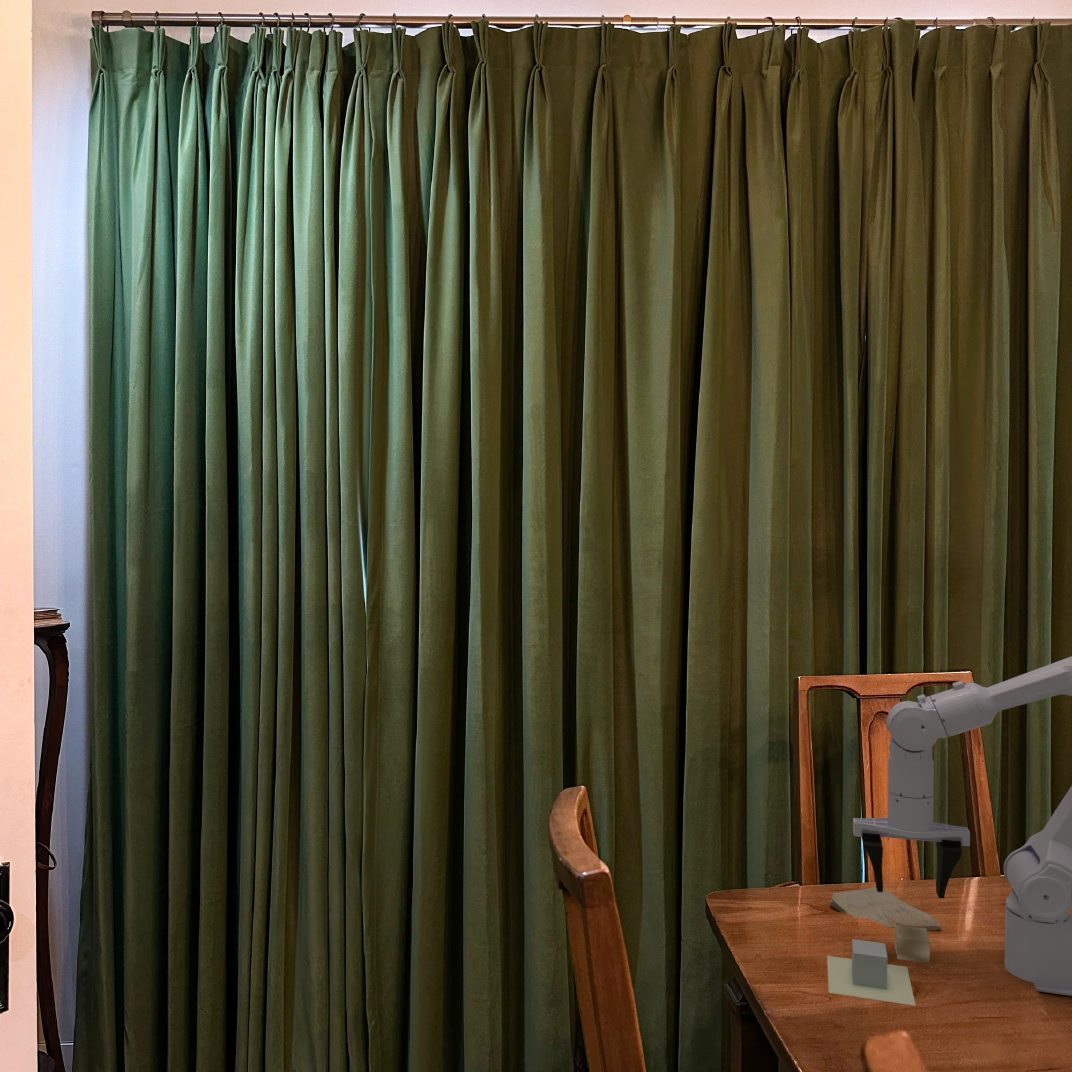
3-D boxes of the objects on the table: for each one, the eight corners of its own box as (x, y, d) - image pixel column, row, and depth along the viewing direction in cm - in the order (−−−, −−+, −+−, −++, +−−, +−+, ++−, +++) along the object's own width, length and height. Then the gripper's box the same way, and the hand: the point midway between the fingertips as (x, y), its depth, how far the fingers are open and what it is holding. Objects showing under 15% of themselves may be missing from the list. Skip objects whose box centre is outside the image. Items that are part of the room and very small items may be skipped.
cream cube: (925, 957, 124) (926, 928, 124) (929, 971, 121) (930, 941, 121) (894, 953, 126) (894, 924, 126) (897, 967, 122) (897, 937, 122)
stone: (945, 941, 130) (945, 923, 130) (882, 949, 127) (882, 931, 127) (878, 898, 145) (879, 882, 145) (820, 905, 142) (821, 889, 142)
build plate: (906, 974, 120) (906, 966, 120) (915, 1013, 110) (915, 1005, 110) (826, 963, 122) (827, 955, 122) (828, 1000, 113) (828, 992, 113)
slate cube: (884, 974, 118) (884, 943, 117) (887, 989, 114) (887, 957, 114) (851, 969, 119) (852, 939, 119) (853, 984, 115) (853, 953, 115)
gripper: (963, 788, 125) (961, 886, 125) (851, 780, 129) (850, 875, 129) (973, 803, 118) (972, 907, 118) (855, 794, 122) (854, 895, 122)
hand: (909, 892), depth 123 cm, fingers open, 7 cm apart
